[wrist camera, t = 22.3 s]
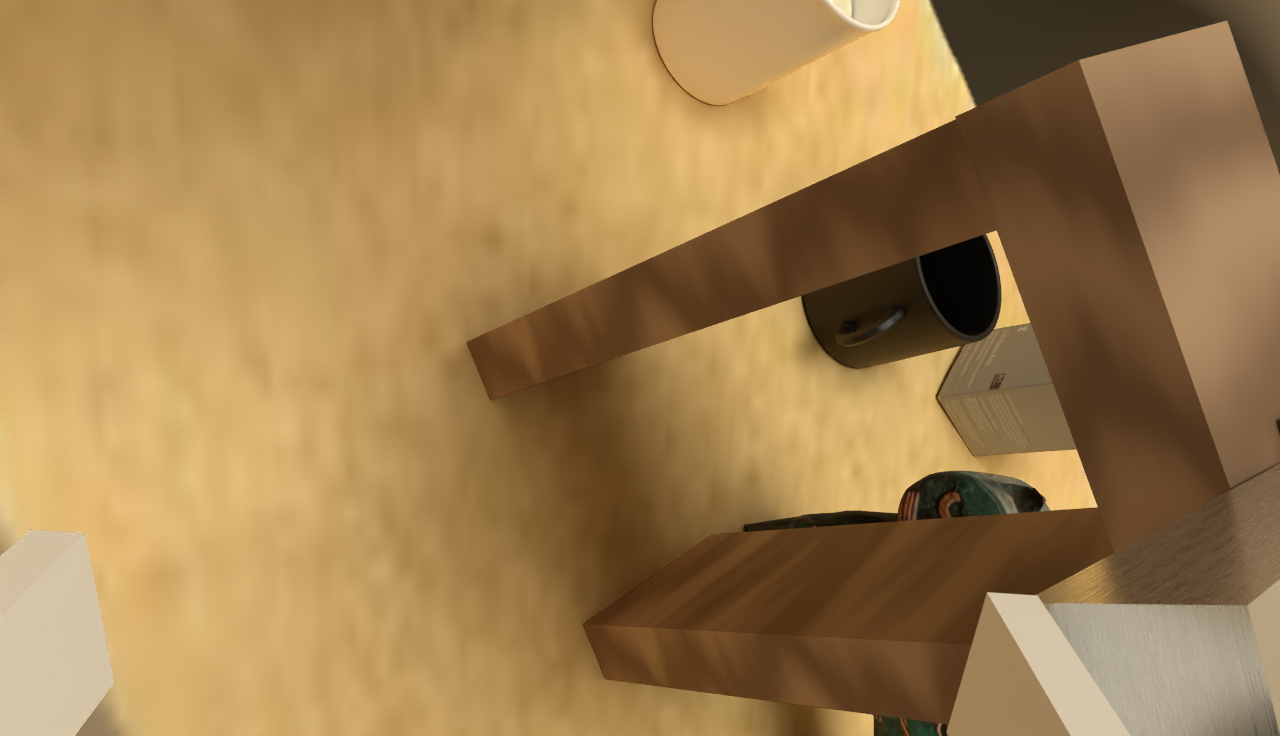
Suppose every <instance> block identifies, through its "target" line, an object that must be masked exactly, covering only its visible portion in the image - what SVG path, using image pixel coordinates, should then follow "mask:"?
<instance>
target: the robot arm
mask: <svg viewBox="0 0 1280 736" xmlns="http://www.w3.org/2000/svg"><path fill="white" fill-rule="evenodd" d="M113 684H114V679H113V674H112V669H111V663H110V658H109V653H108V648H107V643H106V638H105V633H104V627H103V622H102V617H101V612H100V607H99V602H98V596H97V591H96V586H95V581H94V576H93V571H92V566H91V560H90V555H89V550H88V545H87V540H86V535H85V533H76V532H61V531H46V530H29V531H28V532H27V533H26V534H25V535H24V536H23V537H21V538H20V539H19V540H18V541H17V542H16V543H15V544H14V545H12V546H11V547H10V548H9V549H8V550H7V551H6V552H5V553H4V554H2V555H1V556H0V736H75V735H76V733H77V732H78V731H79V729H80V728H81V727H82V725H83V724H84V723H85V721H86V720H87V718H88V717H89V716H90V715H91V713H92V712H93V711H94V709H95V708H96V707H97V705H98V704H99V703H100V701H101V700H102V699H103V697H104V696H105V695H106V693H107V692H108V691H109V689H110V688H111V687H112V685H113ZM946 733H947V735H948V736H1131V735H1130V734H1129V732H1128V731H1127V729H1126V728H1125V726H1124V725H1123V723H1122V722H1121V720H1120V719H1119V717H1118V716H1117V714H1116V713H1115V711H1114V710H1113V708H1112V707H1111V705H1110V704H1109V702H1108V701H1107V699H1106V698H1105V696H1104V695H1103V693H1102V692H1101V690H1100V689H1099V687H1098V686H1097V684H1096V683H1095V681H1094V680H1093V678H1092V677H1091V675H1090V674H1089V672H1088V671H1087V669H1086V668H1085V666H1084V665H1083V663H1082V662H1081V660H1080V659H1079V657H1078V656H1077V654H1076V653H1075V651H1074V650H1073V648H1072V647H1071V645H1070V644H1069V642H1068V641H1067V639H1066V638H1065V636H1064V635H1063V633H1062V632H1061V630H1060V629H1059V627H1058V626H1057V624H1056V623H1055V621H1054V620H1053V618H1052V617H1051V615H1050V614H1049V612H1048V611H1047V609H1046V608H1045V606H1044V605H1043V603H1042V602H1041V600H1040V598H1039V597H1038V596H1036V595H1021V594H1006V593H990V592H987V594H986V597H985V601H984V604H983V608H982V611H981V615H980V618H979V622H978V625H977V629H976V632H975V635H974V639H973V642H972V646H971V649H970V653H969V656H968V660H967V663H966V666H965V670H964V673H963V677H962V680H961V684H960V687H959V691H958V694H957V698H956V701H955V704H954V708H953V711H952V715H951V718H950V722H949V725H948V729H947V732H946Z"/></svg>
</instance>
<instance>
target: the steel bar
mask: <svg viewBox="0 0 1280 736" xmlns="http://www.w3.org/2000/svg"><path fill="white" fill-rule="evenodd" d="M1036 596H1038V597H1039V598H1040V600H1041V602H1042V603H1043V605H1044V606H1045V608H1046V609H1047V611H1048V612H1049V614H1050V615H1051V617H1052V618H1053V620H1054V621H1055V623H1056V624H1057V626H1058V627H1059V629H1060V630H1061V632H1062V633H1063V635H1064V636H1065V638H1066V639H1067V641H1068V642H1069V644H1070V645H1071V647H1072V648H1073V650H1074V651H1075V653H1076V654H1077V656H1078V657H1079V659H1080V660H1081V662H1082V663H1083V665H1084V666H1085V668H1086V669H1087V671H1088V672H1089V674H1090V675H1091V677H1092V678H1093V680H1094V681H1095V683H1096V684H1097V686H1098V687H1099V689H1100V690H1101V692H1102V693H1103V695H1104V696H1105V698H1106V699H1107V701H1108V702H1109V704H1110V705H1111V707H1112V708H1113V710H1114V711H1115V713H1116V714H1117V716H1118V717H1119V719H1120V720H1121V722H1122V723H1123V725H1124V726H1125V728H1126V729H1127V731H1128V732H1129V734H1130V735H1131V736H1280V464H1278V465H1276V466H1274V467H1272V468H1271V469H1269V470H1267V471H1265V472H1263V473H1261V474H1259V475H1258V476H1256V477H1254V478H1252V479H1250V480H1248V481H1247V482H1245V483H1243V484H1241V485H1239V486H1237V487H1235V488H1234V489H1232V490H1230V491H1228V492H1226V493H1224V494H1222V495H1221V496H1219V497H1217V498H1215V499H1213V500H1211V501H1209V502H1208V503H1206V504H1204V505H1202V506H1200V507H1198V508H1196V509H1195V510H1193V511H1191V512H1189V513H1187V514H1185V515H1183V516H1182V517H1180V518H1178V519H1176V520H1174V521H1172V522H1171V523H1169V524H1167V525H1165V526H1163V527H1161V528H1159V529H1158V530H1156V531H1154V532H1152V533H1150V534H1148V535H1146V536H1145V537H1143V538H1141V539H1139V540H1137V541H1135V542H1133V543H1132V544H1130V545H1128V546H1126V547H1124V548H1122V549H1120V550H1119V551H1117V552H1115V553H1113V554H1111V555H1109V556H1107V557H1106V558H1104V559H1102V560H1100V561H1098V562H1096V563H1095V564H1093V565H1091V566H1089V567H1087V568H1085V569H1083V570H1082V571H1080V572H1078V573H1076V574H1074V575H1072V576H1070V577H1069V578H1067V579H1065V580H1063V581H1061V582H1059V583H1057V584H1056V585H1054V586H1052V587H1050V588H1048V589H1046V590H1044V591H1043V592H1041V593H1039V594H1037V595H1036Z"/></svg>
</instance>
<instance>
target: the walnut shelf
mask: <svg viewBox="0 0 1280 736" xmlns="http://www.w3.org/2000/svg"><path fill="white" fill-rule="evenodd" d="M996 230H997V232H998V235H999V238H1000V240H1001V243H1002V246H1003V249H1004V251H1005V254H1006V257H1007V260H1008V262H1009V265H1010V268H1011V271H1012V273H1013V276H1014V279H1015V281H1016V284H1017V287H1018V290H1019V292H1020V295H1021V298H1022V301H1023V303H1024V306H1025V309H1026V312H1027V314H1028V317H1029V320H1030V323H1031V325H1032V328H1033V331H1034V333H1035V336H1036V339H1037V342H1038V344H1039V347H1040V350H1041V353H1042V355H1043V358H1044V361H1045V364H1046V366H1047V369H1048V372H1049V375H1050V377H1051V380H1052V383H1053V386H1054V388H1055V391H1056V394H1057V396H1058V399H1059V402H1060V405H1061V407H1062V410H1063V413H1064V416H1065V418H1066V421H1067V424H1068V427H1069V429H1070V432H1071V435H1072V438H1073V440H1074V443H1075V446H1076V448H1077V451H1078V454H1079V457H1080V459H1081V462H1082V465H1083V468H1084V470H1085V473H1086V476H1087V479H1088V481H1089V484H1090V487H1091V490H1092V492H1093V495H1094V498H1095V500H1096V503H1097V506H1098V508H1083V509H1069V510H1054V511H1040V512H1026V513H1011V514H997V515H983V516H968V517H954V518H939V519H925V520H911V521H896V522H882V523H868V524H853V525H839V526H824V527H810V528H796V529H781V530H767V531H753V532H738V533H724V534H713V535H711V536H710V537H708V538H707V539H705V540H704V541H702V542H701V543H700V544H698V545H697V546H695V547H694V548H692V549H691V550H689V551H688V552H687V553H685V554H684V555H682V556H681V557H679V558H678V559H676V560H675V561H674V562H672V563H671V564H669V565H668V566H666V567H665V568H663V569H662V570H661V571H659V572H658V573H656V574H655V575H653V576H652V577H650V578H649V579H648V580H646V581H645V582H643V583H642V584H640V585H639V586H638V587H636V588H635V589H633V590H632V591H630V592H629V593H627V594H626V595H625V596H623V597H622V598H620V599H619V600H617V601H616V602H614V603H613V604H612V605H610V606H609V607H607V608H606V609H604V610H603V611H601V612H600V613H599V614H597V615H596V616H594V617H593V618H591V619H590V620H588V621H587V622H586V623H584V624H583V625H584V628H585V630H586V633H587V635H588V638H589V640H590V642H591V645H592V647H593V650H594V652H595V655H596V657H597V659H598V662H599V664H600V667H601V669H602V672H603V674H604V676H605V679H608V680H616V681H623V682H631V683H638V684H646V685H654V686H661V687H669V688H676V689H684V690H691V691H699V692H706V693H714V694H722V695H729V696H737V697H744V698H752V699H759V700H767V701H775V702H782V703H790V704H797V705H805V706H812V707H820V708H828V709H835V710H843V711H850V712H858V713H865V714H873V715H880V716H888V717H896V718H903V719H911V720H918V721H926V722H933V723H941V724H949V722H950V718H951V715H952V711H953V708H954V704H955V701H956V698H957V694H958V691H959V687H960V684H961V680H962V677H963V673H964V670H965V666H966V663H967V660H968V656H969V653H970V649H971V646H972V642H973V639H974V635H975V632H976V629H977V625H978V622H979V618H980V615H981V611H982V608H983V604H984V601H985V597H986V594H987V592H990V593H1006V594H1021V595H1037V594H1039V593H1041V592H1043V591H1044V590H1046V589H1048V588H1050V587H1052V586H1054V585H1056V584H1057V583H1059V582H1061V581H1063V580H1065V579H1067V578H1069V577H1070V576H1072V575H1074V574H1076V573H1078V572H1080V571H1082V570H1083V569H1085V568H1087V567H1089V566H1091V565H1093V564H1095V563H1096V562H1098V561H1100V560H1102V559H1104V558H1106V557H1107V556H1109V555H1111V554H1113V553H1115V552H1117V551H1119V550H1120V549H1122V548H1124V547H1126V546H1128V545H1130V544H1132V543H1133V542H1135V541H1137V540H1139V539H1141V538H1143V537H1145V536H1146V535H1148V534H1150V533H1152V532H1154V531H1156V530H1158V529H1159V528H1161V527H1163V526H1165V525H1167V524H1169V523H1171V522H1172V521H1174V520H1176V519H1178V518H1180V517H1182V516H1183V515H1185V514H1187V513H1189V512H1191V511H1193V510H1195V509H1196V508H1198V507H1200V506H1202V505H1204V504H1206V503H1208V502H1209V501H1211V500H1213V499H1215V498H1217V497H1219V496H1221V495H1222V494H1224V493H1226V492H1228V491H1230V490H1232V489H1234V488H1235V487H1237V486H1239V485H1241V484H1243V483H1245V482H1247V481H1248V480H1250V479H1252V478H1254V477H1256V476H1258V475H1259V474H1261V473H1263V472H1265V471H1267V470H1269V469H1271V468H1272V467H1274V466H1276V465H1278V464H1280V175H1279V172H1278V169H1277V166H1276V163H1275V160H1274V157H1273V154H1272V151H1271V148H1270V145H1269V143H1268V139H1267V137H1266V133H1265V131H1264V128H1263V125H1262V122H1261V119H1260V116H1259V113H1258V110H1257V107H1256V104H1255V101H1254V98H1253V96H1252V92H1251V89H1250V86H1249V84H1248V81H1247V78H1246V75H1245V72H1244V69H1243V66H1242V63H1241V60H1240V57H1239V54H1238V52H1237V48H1236V45H1235V43H1234V40H1233V37H1232V34H1231V31H1230V28H1229V25H1228V22H1227V21H1225V22H1221V23H1217V24H1213V25H1210V26H1206V27H1202V28H1198V29H1195V30H1191V31H1187V32H1183V33H1180V34H1176V35H1172V36H1168V37H1164V38H1161V39H1157V40H1153V41H1149V42H1145V43H1142V44H1138V45H1134V46H1131V47H1127V48H1123V49H1119V50H1115V51H1111V52H1108V53H1104V54H1100V55H1096V56H1093V57H1089V58H1085V59H1082V60H1078V61H1076V62H1074V63H1072V64H1070V65H1067V66H1065V67H1063V68H1061V69H1059V70H1056V71H1054V72H1052V73H1050V74H1048V75H1045V76H1043V77H1041V78H1039V79H1037V80H1035V81H1033V82H1030V83H1028V84H1026V85H1024V86H1021V87H1019V88H1017V89H1015V90H1013V91H1010V92H1008V93H1006V94H1004V95H1002V96H1000V97H997V98H995V99H993V100H991V101H989V102H986V103H984V104H982V105H980V106H978V107H976V108H973V109H971V110H969V111H967V112H965V113H962V114H960V115H958V116H956V120H953V121H951V122H949V123H947V124H945V125H942V126H940V127H938V128H936V129H934V130H931V131H929V132H927V133H925V134H923V135H920V136H918V137H916V138H914V139H912V140H909V141H907V142H905V143H903V144H901V145H899V146H896V147H894V148H892V149H890V150H888V151H885V152H883V153H881V154H879V155H877V156H874V157H872V158H870V159H868V160H866V161H863V162H861V163H859V164H857V165H855V166H852V167H850V168H848V169H846V170H844V171H841V172H839V173H837V174H835V175H833V176H830V177H828V178H826V179H824V180H822V181H819V182H817V183H815V184H813V185H811V186H808V187H806V188H804V189H802V190H800V191H798V192H795V193H793V194H791V195H789V196H787V197H784V198H782V199H780V200H778V201H776V202H773V203H771V204H769V205H767V206H765V207H762V208H760V209H758V210H756V211H754V212H751V213H749V214H747V215H745V216H743V217H740V218H738V219H736V220H734V221H732V222H729V223H727V224H725V225H723V226H721V227H718V228H716V229H714V230H712V231H710V232H707V233H705V234H703V235H701V236H699V237H697V238H694V239H692V240H690V241H688V242H686V243H683V244H681V245H679V246H677V247H675V248H672V249H670V250H668V251H666V252H664V253H661V254H659V255H657V256H655V257H653V258H650V259H648V260H646V261H644V262H642V263H639V264H637V265H635V266H633V267H631V268H628V269H626V270H624V271H622V272H620V273H617V274H615V275H613V276H611V277H609V278H606V279H604V280H602V281H600V282H598V283H596V284H593V285H591V286H589V287H587V288H585V289H582V290H580V291H578V292H576V293H574V294H571V295H569V296H567V297H565V298H563V299H560V300H558V301H556V302H554V303H552V304H549V305H547V306H545V307H543V308H541V309H538V310H536V311H534V312H532V313H530V314H527V315H525V316H523V317H521V318H519V319H516V320H514V321H512V322H510V323H508V324H505V325H503V326H501V327H499V328H497V329H495V330H492V331H490V332H488V333H486V334H484V335H481V336H479V337H477V338H475V339H473V340H470V341H468V342H467V344H468V346H469V349H470V351H471V354H472V356H473V359H474V361H475V363H476V366H477V368H478V371H479V373H480V376H481V378H482V380H483V383H484V385H485V388H486V390H487V393H488V395H489V397H490V400H491V399H494V398H497V397H500V396H503V395H506V394H509V393H512V392H515V391H518V390H521V389H524V388H527V387H530V386H533V385H536V384H539V383H542V382H545V381H548V380H551V379H554V378H557V377H560V376H563V375H566V374H569V373H572V372H575V371H577V370H580V369H583V368H586V367H589V366H592V365H595V364H598V363H601V362H604V361H607V360H610V359H613V358H616V357H619V356H622V355H625V354H628V353H631V352H634V351H637V350H640V349H643V348H646V347H649V346H652V345H655V344H658V343H661V342H664V341H667V340H670V339H673V338H676V337H679V336H682V335H685V334H688V333H691V332H694V331H697V330H700V329H703V328H706V327H709V326H712V325H715V324H718V323H721V322H724V321H727V320H730V319H733V318H736V317H739V316H742V315H745V314H748V313H751V312H754V311H757V310H760V309H763V308H766V307H769V306H772V305H775V304H778V303H781V302H784V301H787V300H790V299H793V298H796V297H799V296H802V295H804V294H807V293H810V292H813V291H816V290H819V289H822V288H825V287H828V286H831V285H834V284H837V283H840V282H843V281H846V280H849V279H852V278H855V277H858V276H861V275H864V274H867V273H870V272H873V271H876V270H879V269H882V268H885V267H888V266H891V265H894V264H897V263H900V262H903V261H906V260H909V259H912V258H915V257H918V256H921V255H924V254H927V253H930V252H933V251H936V250H939V249H942V248H945V247H948V246H951V245H954V244H957V243H960V242H963V241H966V240H969V239H972V238H975V237H978V236H981V235H984V234H987V233H990V232H993V231H996Z"/></svg>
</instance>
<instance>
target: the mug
mask: <svg viewBox="0 0 1280 736" xmlns="http://www.w3.org/2000/svg"><path fill="white" fill-rule="evenodd" d="M803 297H804V303H805V308H806V312H807V316H808V318H809V321H810V324H811V326H812V328H813V330H814V332H815V334H816V336H817V338H818V339H819V341H820V343H821V344H822V345H823V347H824V348H825V349H826V350H827V352H828V353H829V354H831V355H832V356H833V357H834V358H835V359H836V360H838V361H839V362H841V363H843V364H845V365H848V366H851V367H855V368H868V367H872V366H876V365H881V364H885V363H889V362H893V361H898V360H902V359H906V358H910V357H915V356H919V355H923V354H927V353H932V352H936V351H940V350H944V349H949V348H953V347H957V346H961V345H966V344H970V343H974V342H978V341H981V340H983V339H984V338H986V337H987V336H988V335H989V334H990V333H991V332H992V331H993V329H994V327H995V326H996V323H997V320H998V318H999V313H1000V308H1001V283H1000V275H999V270H998V266H997V262H996V258H995V255H994V252H993V249H992V247H991V244H990V242H989V240H988V238H987V236H986V234H984V235H981V236H978V237H975V238H972V239H969V240H966V241H963V242H960V243H957V244H954V245H951V246H948V247H945V248H942V249H939V250H936V251H933V252H930V253H927V254H924V255H921V256H918V257H915V258H912V259H909V260H906V261H903V262H900V263H897V264H894V265H891V266H888V267H885V268H882V269H879V270H876V271H873V272H870V273H867V274H864V275H861V276H858V277H855V278H852V279H849V280H846V281H843V282H840V283H837V284H834V285H831V286H828V287H825V288H822V289H819V290H816V291H813V292H810V293H807V294H804V295H803Z"/></svg>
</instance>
